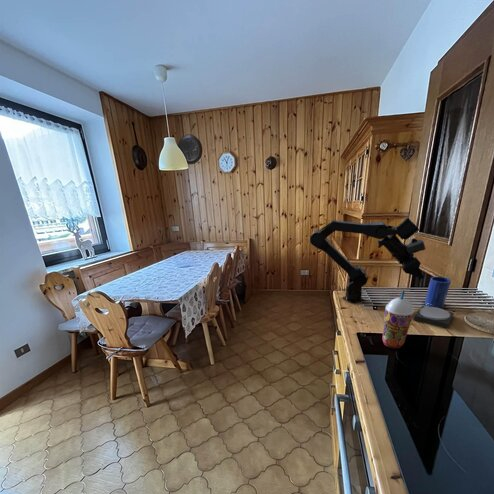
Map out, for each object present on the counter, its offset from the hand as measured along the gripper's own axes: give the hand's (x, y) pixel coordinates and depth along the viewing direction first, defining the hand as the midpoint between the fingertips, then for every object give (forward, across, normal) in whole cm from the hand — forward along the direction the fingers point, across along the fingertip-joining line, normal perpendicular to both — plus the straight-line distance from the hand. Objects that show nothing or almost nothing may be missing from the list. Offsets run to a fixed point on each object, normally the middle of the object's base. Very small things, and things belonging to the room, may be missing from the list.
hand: (420, 274), depth 118 cm
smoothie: (0, -36, +19) cm, 41 cm away
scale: (+13, -14, +6) cm, 20 cm away
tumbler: (+15, 0, +4) cm, 16 cm away
